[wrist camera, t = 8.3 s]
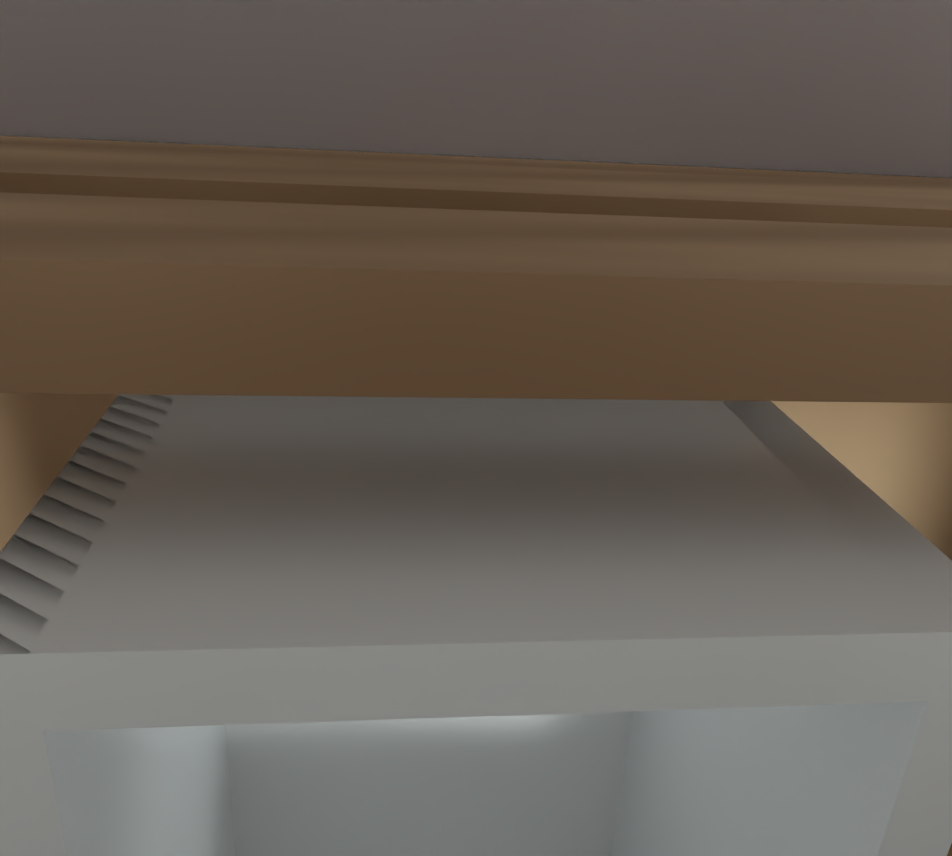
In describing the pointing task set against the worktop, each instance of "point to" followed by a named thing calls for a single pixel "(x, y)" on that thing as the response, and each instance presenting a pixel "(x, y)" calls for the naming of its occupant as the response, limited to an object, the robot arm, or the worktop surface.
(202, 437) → the small crate
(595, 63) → the worktop surface
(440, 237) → the oak crate
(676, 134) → the worktop surface
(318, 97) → the worktop surface
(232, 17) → the worktop surface
